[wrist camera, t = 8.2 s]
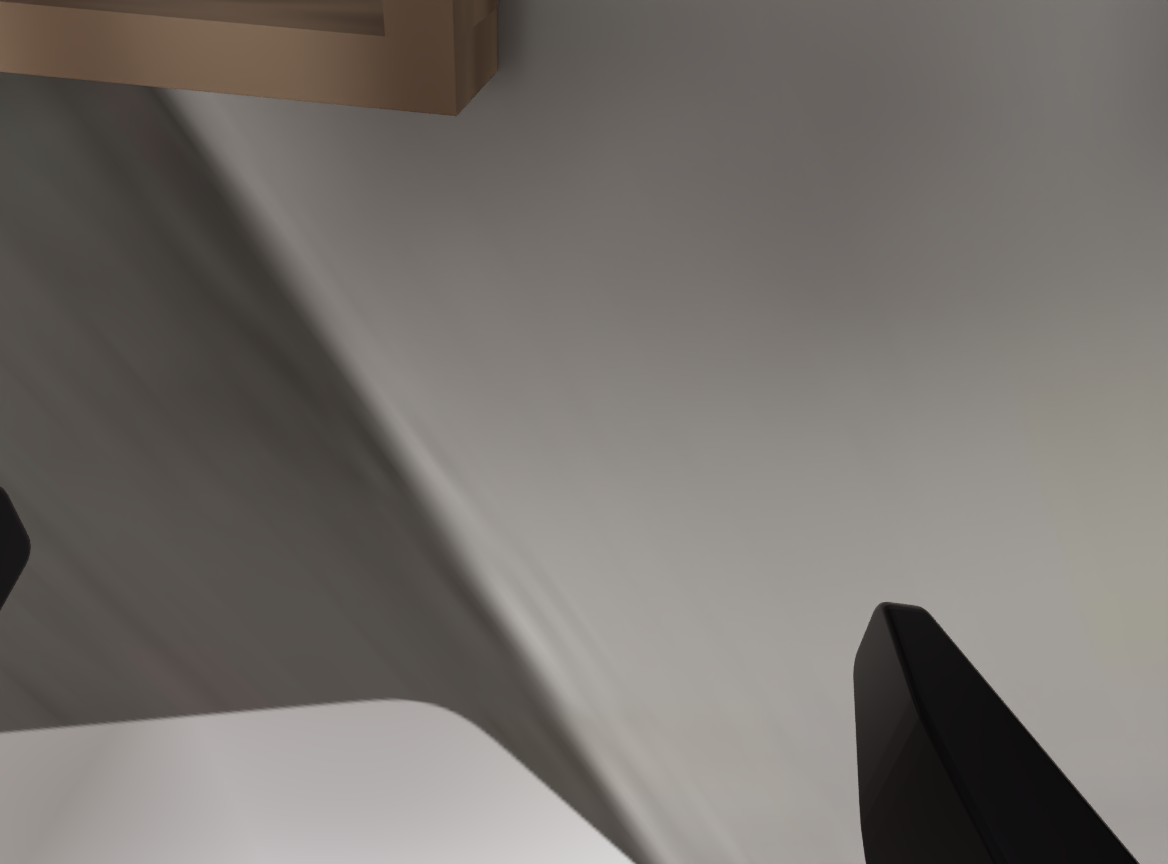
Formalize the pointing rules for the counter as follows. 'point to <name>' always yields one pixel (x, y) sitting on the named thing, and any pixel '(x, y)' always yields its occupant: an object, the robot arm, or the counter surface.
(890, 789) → the robot arm
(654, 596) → the counter surface
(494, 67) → the walnut frame
